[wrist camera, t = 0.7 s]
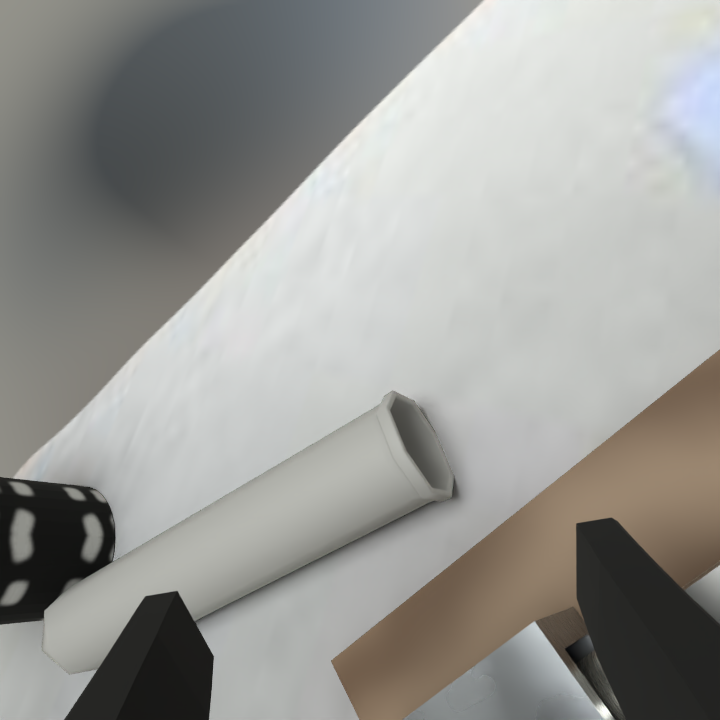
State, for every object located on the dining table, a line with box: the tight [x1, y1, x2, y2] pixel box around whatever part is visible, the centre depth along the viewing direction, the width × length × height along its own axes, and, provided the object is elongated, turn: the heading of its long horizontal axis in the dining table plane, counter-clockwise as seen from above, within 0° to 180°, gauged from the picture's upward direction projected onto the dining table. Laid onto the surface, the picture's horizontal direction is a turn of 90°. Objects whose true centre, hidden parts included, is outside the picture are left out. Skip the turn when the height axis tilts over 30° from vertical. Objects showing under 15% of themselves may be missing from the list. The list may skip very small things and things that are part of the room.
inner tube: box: [576, 561, 720, 720], centre depth 16 cm, size 3×19×8 cm, turn 125°
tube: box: [42, 391, 454, 675], centre depth 30 cm, size 5×5×25 cm
